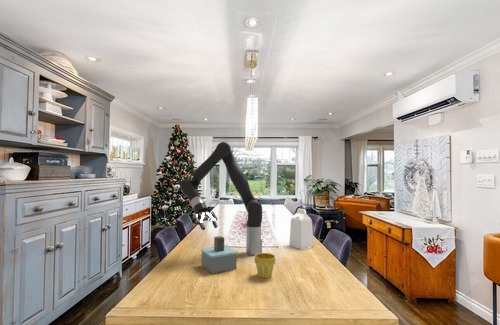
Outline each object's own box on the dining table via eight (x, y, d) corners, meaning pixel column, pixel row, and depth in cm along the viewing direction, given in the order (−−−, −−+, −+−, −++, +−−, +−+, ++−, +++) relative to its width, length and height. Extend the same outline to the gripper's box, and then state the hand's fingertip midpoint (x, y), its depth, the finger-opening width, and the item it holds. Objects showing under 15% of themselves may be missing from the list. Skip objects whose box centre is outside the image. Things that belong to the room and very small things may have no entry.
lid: (225, 248, 158) (225, 233, 159) (237, 255, 145) (238, 238, 146) (200, 252, 151) (201, 235, 151) (211, 259, 138) (211, 241, 138)
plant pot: (273, 280, 130) (274, 259, 131) (252, 278, 133) (252, 258, 133) (276, 272, 141) (276, 253, 141) (256, 271, 143) (256, 252, 143)
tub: (224, 261, 157) (225, 247, 158) (236, 269, 145) (236, 253, 146) (201, 265, 150) (201, 250, 150) (211, 273, 138) (212, 257, 138)
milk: (313, 247, 192) (313, 209, 193) (301, 249, 185) (301, 210, 186) (301, 243, 202) (301, 207, 203) (289, 245, 195) (289, 208, 196)
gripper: (191, 202, 156) (203, 225, 147) (211, 201, 166) (223, 222, 157) (185, 211, 159) (197, 234, 151) (205, 209, 169) (217, 230, 161)
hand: (210, 228), depth 154 cm, fingers open, 8 cm apart
